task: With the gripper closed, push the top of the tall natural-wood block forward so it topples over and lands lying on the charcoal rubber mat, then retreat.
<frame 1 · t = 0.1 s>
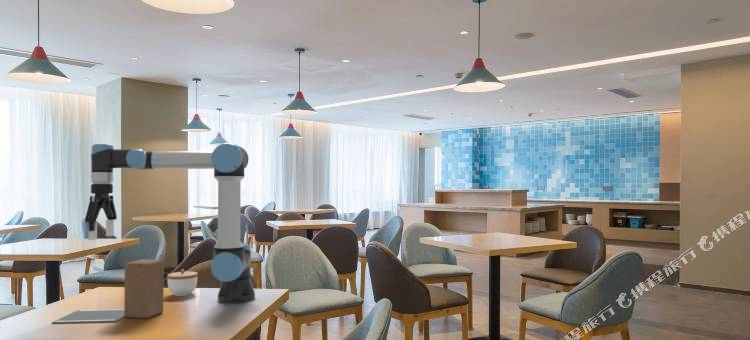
hand: (101, 237, 194), 28 cm above the table, fingers open, 13 cm apart
wooden block: (144, 315, 185), on the table
lidded bowl: (182, 295, 220), on the table
mat: (96, 316, 183), on the table
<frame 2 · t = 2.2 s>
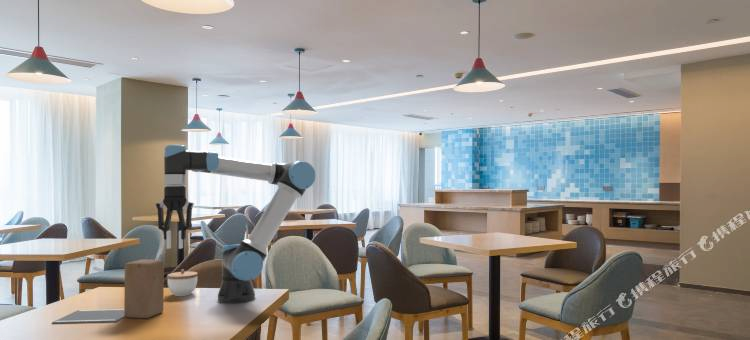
hand: (174, 248, 186), 25 cm above the table, fingers open, 4 cm apart
nothing on the table moved.
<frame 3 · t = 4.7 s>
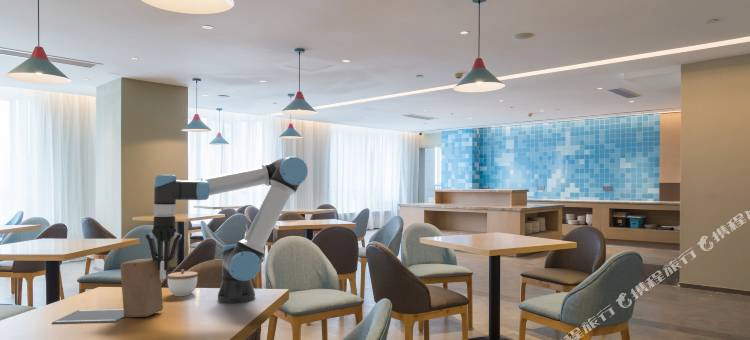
hand: (162, 279, 185), 13 cm above the table, fingers closed
wooden block: (144, 314, 184), on the table, touching gripper, hand, mat
everything else where it was.
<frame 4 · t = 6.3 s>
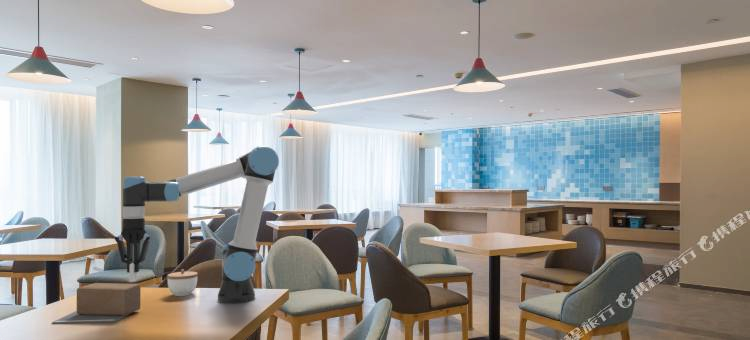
hand: (132, 281, 185), 13 cm above the table, fingers closed
wooden block: (133, 299, 186), point 6 cm above the table, touching mat
everything else where it was.
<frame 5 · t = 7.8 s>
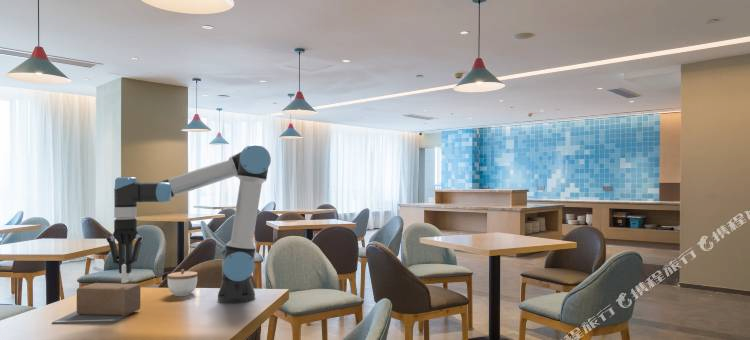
hand: (125, 281, 184), 12 cm above the table, fingers closed
nothing on the table moved.
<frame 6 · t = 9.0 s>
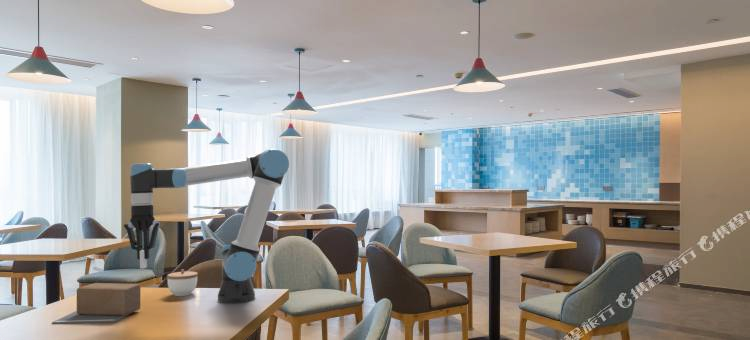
hand: (143, 267, 185), 17 cm above the table, fingers closed
nothing on the table moved.
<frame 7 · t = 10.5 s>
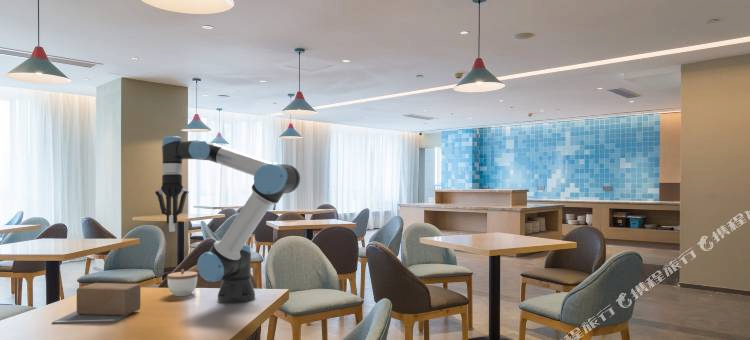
hand: (171, 231, 204), 29 cm above the table, fingers closed
nothing on the table moved.
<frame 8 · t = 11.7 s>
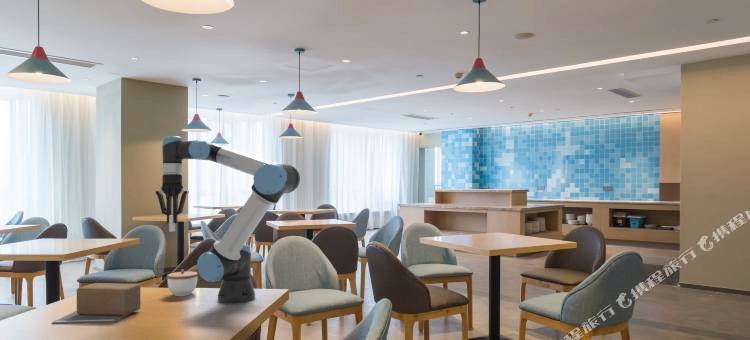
hand: (172, 231, 204), 29 cm above the table, fingers closed
nothing on the table moved.
at the end: wooden block tilted 90°; wooden block touching mat; wooden block 12.9 cm from the mat (horizontally) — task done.
